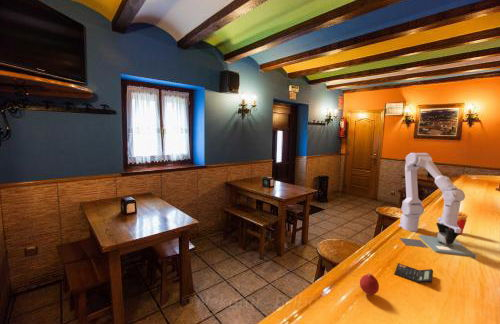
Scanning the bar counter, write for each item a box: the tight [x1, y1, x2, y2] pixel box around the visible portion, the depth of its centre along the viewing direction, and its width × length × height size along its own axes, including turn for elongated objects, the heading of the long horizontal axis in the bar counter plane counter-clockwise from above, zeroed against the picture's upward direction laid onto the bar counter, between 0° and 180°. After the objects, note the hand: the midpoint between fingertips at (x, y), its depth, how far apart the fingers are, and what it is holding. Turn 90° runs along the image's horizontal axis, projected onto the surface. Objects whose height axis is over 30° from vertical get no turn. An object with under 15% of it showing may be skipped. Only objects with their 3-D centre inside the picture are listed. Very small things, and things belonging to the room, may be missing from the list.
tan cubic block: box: [436, 231, 457, 247], centre depth 116 cm, size 5×5×5 cm
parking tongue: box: [398, 237, 429, 249], centre depth 119 cm, size 8×10×1 cm
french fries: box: [449, 211, 469, 236], centre depth 134 cm, size 8×4×12 cm, turn 34°
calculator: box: [393, 263, 434, 284], centre depth 94 cm, size 9×12×3 cm
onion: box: [359, 272, 380, 296], centre depth 82 cm, size 6×6×8 cm
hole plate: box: [418, 234, 477, 260], centre depth 117 cm, size 16×16×2 cm
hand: (445, 240), depth 116 cm, fingers closed on tan cubic block, 5 cm apart
